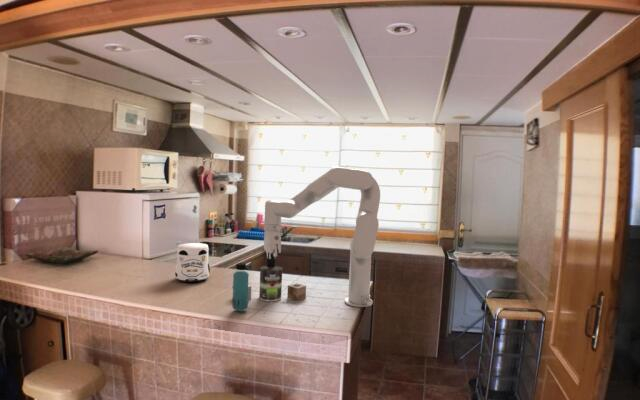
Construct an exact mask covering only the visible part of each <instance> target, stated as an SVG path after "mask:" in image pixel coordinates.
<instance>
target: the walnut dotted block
mask: <svg viewBox="0 0 640 400" xmlns="http://www.w3.org/2000/svg"><path fill="white" fill-rule="evenodd" d="M286 297H287V299H289V300H291V301H295V302H299V301H302V300H304V299H306V298H307V285H305V284H301V283H298V282H296V283H292V284H288V285H287V295H286Z"/></svg>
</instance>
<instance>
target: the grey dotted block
mask: <svg viewBox="0 0 640 400" xmlns="http://www.w3.org/2000/svg"><path fill="white" fill-rule="evenodd" d="M251 284H252V283H250V282H248V301H250V300H252V285H251Z"/></svg>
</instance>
